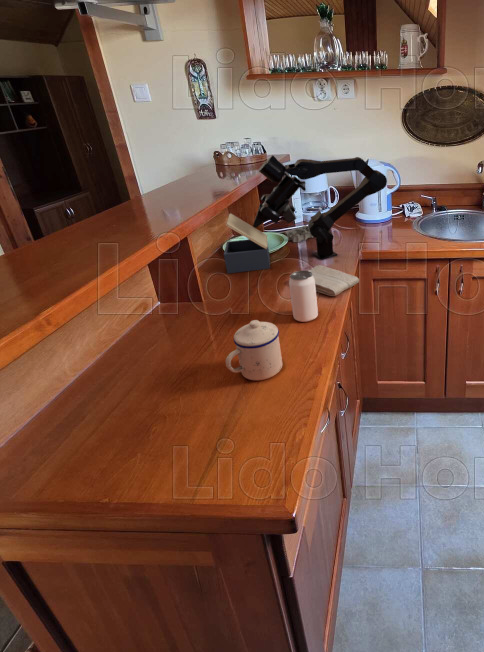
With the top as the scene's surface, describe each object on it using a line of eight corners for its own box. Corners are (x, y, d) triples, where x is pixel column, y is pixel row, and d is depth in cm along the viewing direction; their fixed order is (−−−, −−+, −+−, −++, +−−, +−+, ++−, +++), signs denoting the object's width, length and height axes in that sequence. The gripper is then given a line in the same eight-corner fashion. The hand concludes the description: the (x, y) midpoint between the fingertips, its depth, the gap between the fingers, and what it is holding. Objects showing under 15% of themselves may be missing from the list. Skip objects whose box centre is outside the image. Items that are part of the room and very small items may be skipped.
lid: (225, 225, 131) (227, 223, 131) (229, 214, 143) (230, 212, 142) (266, 249, 138) (267, 247, 137) (266, 237, 149) (267, 235, 149)
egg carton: (295, 243, 162) (293, 233, 161) (284, 239, 167) (283, 229, 166) (317, 236, 169) (316, 227, 167) (306, 232, 174) (305, 223, 172)
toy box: (227, 273, 138) (223, 254, 135) (230, 259, 149) (226, 241, 146) (269, 268, 140) (267, 249, 138) (269, 255, 152) (267, 237, 149)
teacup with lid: (267, 351, 96) (260, 306, 92) (292, 366, 91) (285, 320, 86) (219, 377, 88) (208, 329, 83) (243, 395, 83) (233, 346, 78)
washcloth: (318, 270, 138) (317, 262, 136) (361, 283, 128) (360, 274, 127) (291, 284, 129) (290, 274, 128) (335, 298, 119) (334, 289, 118)
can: (294, 324, 107) (289, 282, 102) (292, 312, 113) (287, 271, 108) (319, 320, 108) (315, 278, 104) (316, 308, 114) (312, 268, 109)
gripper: (305, 214, 133) (274, 250, 135) (301, 200, 150) (273, 232, 152) (277, 191, 128) (245, 229, 130) (275, 179, 145) (247, 213, 147)
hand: (254, 226), depth 140 cm, fingers closed
